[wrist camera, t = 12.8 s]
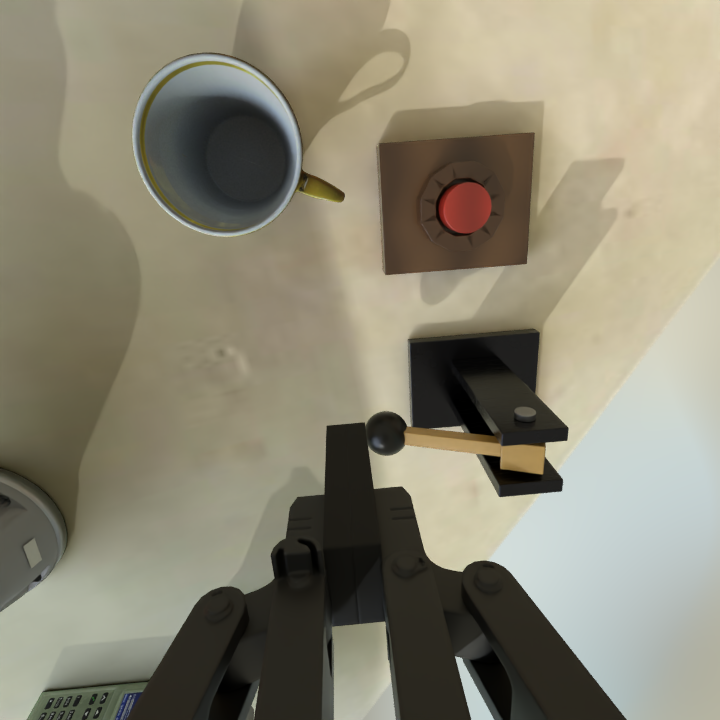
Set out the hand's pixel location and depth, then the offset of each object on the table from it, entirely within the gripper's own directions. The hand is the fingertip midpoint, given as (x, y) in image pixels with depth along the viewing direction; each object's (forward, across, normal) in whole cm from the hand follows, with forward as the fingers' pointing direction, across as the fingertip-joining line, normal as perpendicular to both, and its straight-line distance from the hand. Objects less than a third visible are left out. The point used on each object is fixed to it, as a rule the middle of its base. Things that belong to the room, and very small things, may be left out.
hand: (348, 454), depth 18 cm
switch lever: (+15, +8, -8) cm, 19 cm away
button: (+21, +10, +8) cm, 24 cm away
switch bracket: (+24, +12, -8) cm, 28 cm away
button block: (+24, +10, +8) cm, 28 cm away
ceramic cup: (+25, -5, +12) cm, 28 cm away
